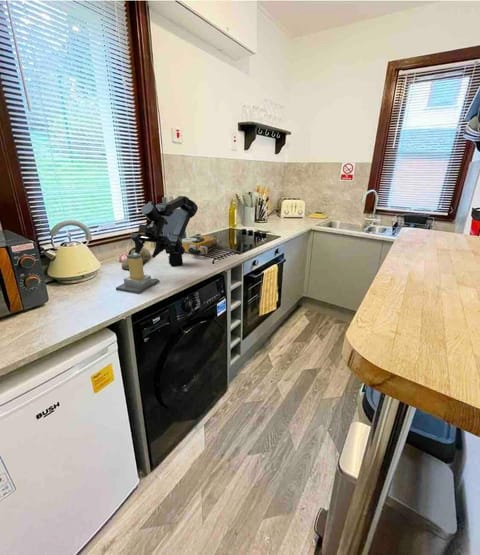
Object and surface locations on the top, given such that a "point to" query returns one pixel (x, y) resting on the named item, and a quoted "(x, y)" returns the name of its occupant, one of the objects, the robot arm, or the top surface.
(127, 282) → the grey stepped base
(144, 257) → the sandal
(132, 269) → the tan upright block
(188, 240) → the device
